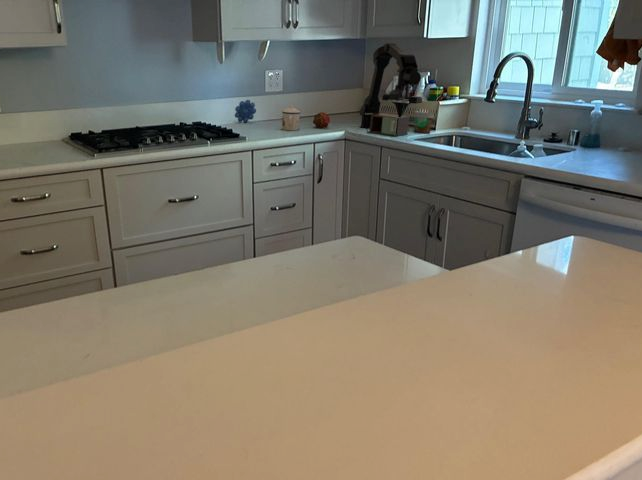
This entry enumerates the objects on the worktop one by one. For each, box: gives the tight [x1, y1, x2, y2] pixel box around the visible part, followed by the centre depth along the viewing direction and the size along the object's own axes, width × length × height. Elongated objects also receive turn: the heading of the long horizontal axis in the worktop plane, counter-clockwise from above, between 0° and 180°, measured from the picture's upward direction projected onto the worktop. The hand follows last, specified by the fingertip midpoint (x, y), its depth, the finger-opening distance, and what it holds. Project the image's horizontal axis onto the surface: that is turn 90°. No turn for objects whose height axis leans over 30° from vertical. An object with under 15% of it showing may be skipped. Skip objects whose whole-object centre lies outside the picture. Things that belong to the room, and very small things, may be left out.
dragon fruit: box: [312, 111, 331, 129], centre depth 322 cm, size 8×8×12 cm
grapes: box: [234, 99, 257, 124], centre depth 331 cm, size 12×7×12 cm, turn 84°
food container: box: [413, 110, 435, 135], centre depth 314 cm, size 12×6×10 cm, turn 25°
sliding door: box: [381, 117, 397, 135], centre depth 302 cm, size 8×3×8 cm, turn 46°
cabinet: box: [366, 112, 410, 138], centre depth 308 cm, size 16×12×9 cm
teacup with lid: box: [281, 105, 301, 132], centre depth 311 cm, size 12×9×12 cm
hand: (399, 117), depth 295 cm, fingers closed
